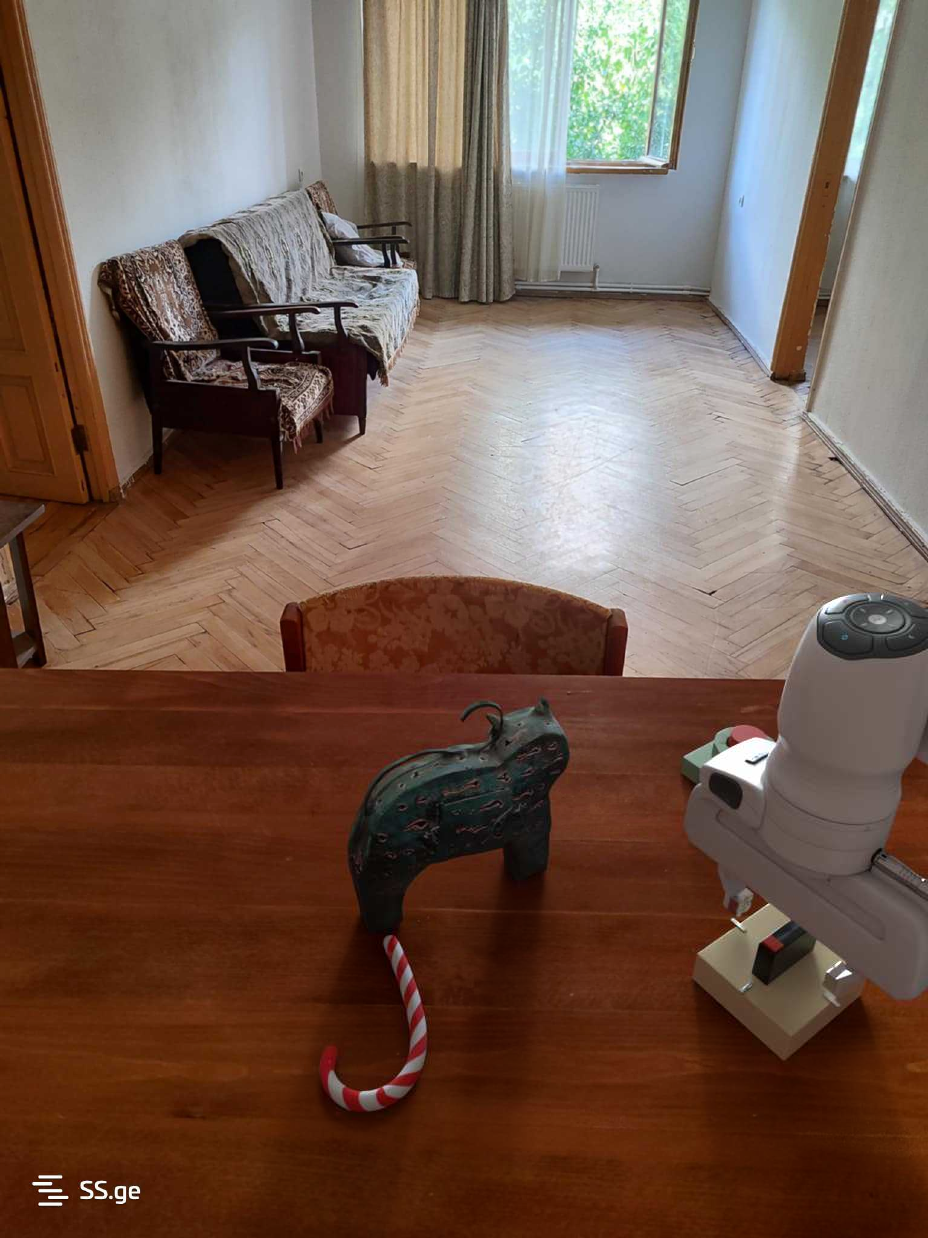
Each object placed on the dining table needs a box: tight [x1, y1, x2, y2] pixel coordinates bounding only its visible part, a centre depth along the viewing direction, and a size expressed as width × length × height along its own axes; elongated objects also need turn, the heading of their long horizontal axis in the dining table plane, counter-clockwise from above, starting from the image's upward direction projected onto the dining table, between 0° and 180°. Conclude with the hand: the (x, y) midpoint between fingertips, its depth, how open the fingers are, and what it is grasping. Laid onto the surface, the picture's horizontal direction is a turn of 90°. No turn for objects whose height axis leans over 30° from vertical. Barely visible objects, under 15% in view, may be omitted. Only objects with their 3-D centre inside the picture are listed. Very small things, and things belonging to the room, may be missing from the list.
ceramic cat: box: [347, 695, 571, 934], centre depth 75 cm, size 20×6×20 cm, turn 115°
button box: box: [680, 726, 775, 785], centre depth 94 cm, size 10×8×4 cm
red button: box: [728, 724, 767, 748], centre depth 93 cm, size 4×4×2 cm
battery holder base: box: [692, 902, 868, 1062], centre depth 71 cm, size 10×10×3 cm
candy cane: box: [318, 934, 428, 1113], centre depth 68 cm, size 8×1×15 cm
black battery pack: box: [751, 920, 817, 986], centre depth 69 cm, size 6×2×4 cm, turn 126°
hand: (783, 947), depth 69 cm, fingers open, 8 cm apart
